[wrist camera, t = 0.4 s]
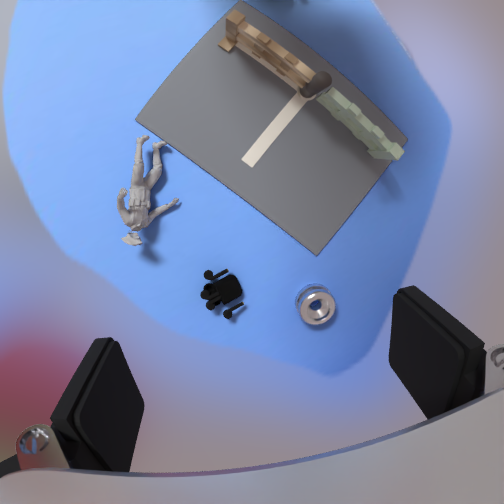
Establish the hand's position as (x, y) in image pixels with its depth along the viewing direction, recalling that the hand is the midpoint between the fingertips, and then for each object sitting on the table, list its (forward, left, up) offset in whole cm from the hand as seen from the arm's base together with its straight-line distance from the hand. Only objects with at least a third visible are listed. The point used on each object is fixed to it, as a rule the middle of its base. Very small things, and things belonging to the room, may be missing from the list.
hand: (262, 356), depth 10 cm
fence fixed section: (-16, -7, -29) cm, 34 cm away
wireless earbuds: (+9, +5, -30) cm, 32 cm away
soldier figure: (+4, -10, -30) cm, 32 cm away
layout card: (-11, -2, -29) cm, 32 cm away
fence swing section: (-16, +4, -29) cm, 33 cm away
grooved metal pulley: (+4, +16, -30) cm, 34 cm away
